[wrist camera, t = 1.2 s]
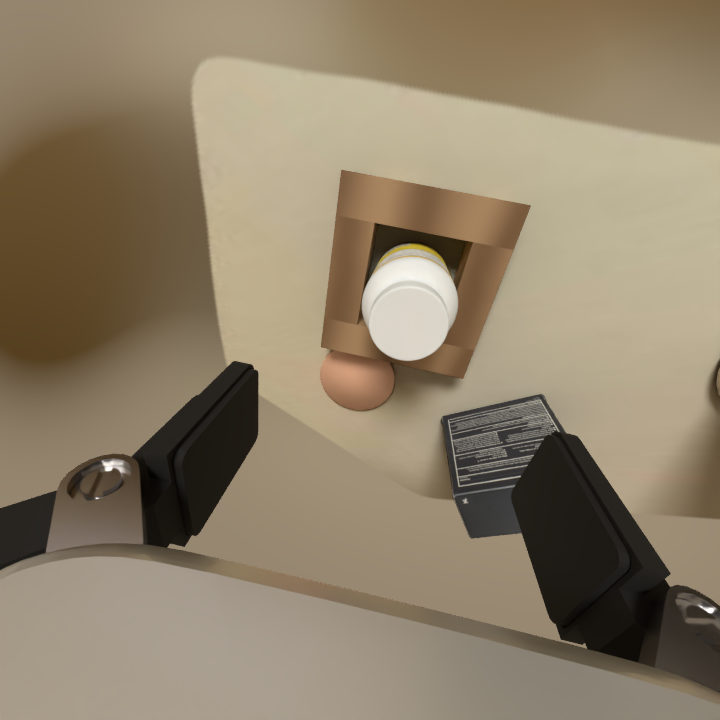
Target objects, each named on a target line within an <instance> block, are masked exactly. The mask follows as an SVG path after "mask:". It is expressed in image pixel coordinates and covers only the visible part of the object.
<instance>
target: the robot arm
mask: <svg viewBox="0 0 720 720" xmlns="http://www.w3.org/2000/svg"><path fill="white" fill-rule="evenodd" d="M716 385H717V391H718V395H719V397H720V368H719V371H718V375H717V383H716ZM257 436H258V371H257V370H254V368H253V365H251V364H246V363H242V362H237V361H234V362H232V363H231V364H230V365H229V366H228V367H227V368H226V369H225V370H224V371H223V372H222V373H221V374H220V375H219V376H218V377H217V378H216V379H215V380H214V381H213V382H212V383H211V384H210V385H209V386H208V387H207V388H206V389H204V390H203V392H202V393H201V394H199V395H196V396H195V397H193V398H192V399H191V400H190V401H189V402H188V403H187V404H186V405H185V406H184V407H183V408H182V409H181V410H180V411H178V412H177V413H176V414H175V415H174V416H173V417H172V418H171V419H170V420H169V421H168V422H167V423H166V424H165V425H164V426H163V427H162V428H161V429H160V430H159V431H158V432H157V433H156V434H155V435H154V436H152V438H150V440H148V441H147V442H146V443H145V444H144V445H143V446H142V447H141V448H140V449H139V450H138V451H137V452H136V453H135V454H134V455H133V456H132V457H131V456H128V455H124V454H109V455H102V456H99V457H96V458H93V459H90V460H88V461H86V462H84V463H82V464H80V465H78V466H77V467H75V468H74V469H73V470H71V471H70V472H69V473H68V474H67V475H66V476H65V477H64V478H63V480H62V481H61V482H60V485H59V487H58V489H57V491H54V492H50V493H47V494H44V495H41V496H38V497H35V498H31V499H28V500H25V501H22V502H19V503H16V504H13V505H9V506H7V507H3V508H0V720H720V606H719V605H718V604H717V603H715V602H714V601H713V600H711V599H710V598H708V597H706V596H705V595H703V594H701V593H700V592H698V591H696V590H693V589H691V588H689V587H687V586H680V585H675V586H672V587H670V586H669V585H668V583H667V582H666V580H665V578H666V577H667V576H669V575H670V572H669V571H668V569H667V568H666V566H665V564H664V563H663V562H662V560H661V559H660V557H659V556H658V554H657V553H656V552H655V550H654V548H653V547H652V545H651V544H650V542H649V541H648V539H647V538H646V536H645V535H644V534H643V532H642V530H641V529H640V528H639V526H638V525H637V523H636V522H635V520H634V519H633V517H632V516H631V514H630V513H629V511H628V510H627V508H626V507H625V505H624V504H623V502H622V501H621V499H620V498H619V496H618V495H617V494H616V492H615V491H614V489H613V488H612V486H611V485H610V483H609V482H608V480H607V479H606V477H605V476H604V474H603V473H602V471H601V470H600V468H599V467H598V465H597V464H596V462H595V461H594V460H593V458H592V457H591V455H590V454H589V452H588V451H587V449H586V448H585V446H584V445H583V443H582V442H581V440H580V439H579V438H578V437H577V436H575V435H571V434H567V433H562V432H558V431H556V432H553V433H552V434H551V435H546V436H545V438H544V439H543V441H542V443H541V444H540V446H539V447H538V449H537V451H536V452H535V454H534V456H533V457H532V459H531V460H530V462H529V464H528V465H527V467H526V469H525V470H524V472H523V473H522V475H521V477H520V478H519V480H518V482H517V483H516V485H515V486H514V488H513V490H512V493H511V501H512V504H513V507H514V510H515V514H516V517H517V520H518V523H519V526H520V529H521V532H522V535H523V538H524V541H525V544H526V547H527V551H528V554H529V557H530V559H531V563H532V566H533V569H534V572H535V575H536V578H537V581H538V584H539V588H540V591H541V594H542V597H543V600H544V603H545V606H546V609H547V612H548V615H549V618H550V619H551V621H552V622H553V623H555V624H556V626H557V629H558V632H559V635H560V638H561V640H565V641H569V642H573V643H578V644H582V645H583V644H584V643H585V644H586V646H587V649H585V648H582V647H578V646H574V645H570V644H566V643H563V642H559V641H555V640H550V639H547V638H543V637H538V636H534V635H531V634H527V633H523V632H519V631H515V630H511V629H507V628H503V627H499V626H495V625H491V624H487V623H483V622H479V621H475V620H471V619H467V618H463V617H459V616H455V615H451V614H447V613H443V612H439V611H435V610H431V609H426V608H423V607H419V606H415V605H410V604H407V603H402V602H399V601H394V600H390V599H386V598H382V597H378V596H374V595H370V594H366V593H361V592H358V591H354V590H350V589H346V588H341V587H337V586H333V585H329V584H325V583H321V582H317V581H312V580H308V579H304V578H300V577H296V576H292V575H287V574H283V573H279V572H275V571H271V570H267V569H262V568H258V567H254V566H250V565H246V564H241V563H237V562H232V561H227V560H223V559H219V558H214V557H209V556H205V555H200V554H196V553H191V552H186V551H182V550H176V549H170V548H167V547H168V546H169V544H170V543H171V544H175V545H179V546H183V547H185V545H186V544H187V542H188V541H189V539H190V537H191V536H192V535H194V536H196V535H198V534H199V533H200V531H201V530H202V528H203V527H204V525H205V523H206V521H207V520H208V518H209V517H210V515H211V514H212V512H213V510H214V509H215V507H216V505H217V504H218V502H219V500H220V499H221V497H222V496H223V494H224V492H225V491H226V489H227V487H228V486H229V484H230V482H231V481H232V479H233V478H234V476H235V474H236V473H237V471H238V469H239V468H240V466H241V464H242V463H243V461H244V460H245V458H246V456H247V455H248V453H249V451H250V450H251V448H252V447H253V445H254V443H255V441H256V439H257Z"/></svg>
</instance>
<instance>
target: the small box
mask: <svg viewBox="0 0 720 720" xmlns="http://www.w3.org/2000/svg"><path fill="white" fill-rule="evenodd" d="M441 422H442V424H443V428H444V435H445V443H446V451H447V458H448V464H449V471H450V478H451V485H452V497H453V499H454V501H455V503H456V505H457V508H458V511H459V513H460V515H461V518H462V520H463V523H464V525H465V527H466V530H467V532H468V535H469V537H470V538H480V537H489V536H499V535H507V534H518V533H522V532H521V529H520V526H519V523H518V520H517V517H516V514H515V510H514V507H513V504H512V501H511V493H512V490H513V488H514V486H515V485H516V483H517V482H518V480H519V478H520V477H521V475H522V473H523V472H524V470H525V469H526V467H527V465H528V464H529V462H530V460H531V459H532V457H533V456H534V454H535V452H536V451H537V449H538V447H539V446H540V444H541V443H542V441H543V439H544V438H545V436H546V435H551V434H552V433H553V432H556V431H558V432H562V433H566V432H565V430H564V429H563V427H562V426H561V424H560V423H559V421H558V419H557V418H556V416H555V414H554V413H553V411H552V410H551V408H550V407H549V405H548V403H547V402H546V399H545V397H544V395H542V394H540V395H535V396H531V397H526V398H522V399H517V400H513V401H508V402H504V403H500V404H495V405H491V406H486V407H482V408H477V409H473V410H469V411H464V412H460V413H455V414H451V415H447V416H443V417H442V419H441Z"/></svg>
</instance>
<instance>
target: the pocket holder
mask: <svg viewBox="0 0 720 720" xmlns="http://www.w3.org/2000/svg"><path fill="white" fill-rule="evenodd" d="M530 207H531V206H530V205H525V204H520V203H515V202H509V201H504V200H499V199H493V198H488V197H483V196H477V195H472V194H467V193H462V192H456V191H451V190H446V189H440V188H435V187H430V186H424V185H419V184H414V183H409V182H403V181H398V180H393V179H387V178H382V177H377V176H371V175H366V174H361V173H356V172H350V171H345V170H341V178H340V187H339V195H338V204H337V213H336V221H335V230H334V238H333V247H332V256H331V264H330V273H329V282H328V290H327V299H326V308H325V316H324V325H323V334H322V342H321V347H322V348H327V349H331V350H336V351H340V352H345V353H350V354H354V355H359V356H363V357H368V358H372V359H377V360H381V361H386V362H390V363H395V364H399V365H404V366H408V367H413V368H417V369H422V370H426V371H431V372H435V373H440V374H444V375H449V376H453V377H458V378H464V375H465V373H466V370H467V367H468V365H469V362H470V360H471V357H472V355H473V352H474V350H475V347H476V344H477V342H478V339H479V337H480V334H481V332H482V329H483V327H484V324H485V321H486V319H487V316H488V314H489V311H490V309H491V306H492V304H493V301H494V299H495V296H496V293H497V291H498V288H499V286H500V283H501V281H502V278H503V276H504V273H505V270H506V268H507V265H508V263H509V260H510V258H511V255H512V253H513V250H514V247H515V245H516V242H517V240H518V237H519V235H520V232H521V230H522V227H523V224H524V222H525V219H526V217H527V214H528V212H529V209H530ZM378 224H383V225H389V226H394V227H399V228H404V229H409V230H414V231H419V232H424V233H429V234H434V235H439V236H444V237H449V238H455V239H460V240H465V241H466V243H465V246H464V249H463V252H462V255H461V259H460V262H459V265H458V268H457V271H456V274H455V278H454V281H453V282H454V285H455V287H456V291H457V295H458V311H457V315H456V318H455V321H454V323H453V325H452V327H451V328H450V330H449V331H448V333H447V336H446V338H445V340H444V342H443V343H442V345H441V346H440V347H439V348H438V349H437V350H436V351H435V352H434V353H432V354H431V355H429V356H427V357H425V358H422V359H419V360H413V361H404V360H398V359H394V358H392V357H390V356H388V355H386V354H385V353H383V352H382V351H381V350H380V349H379V348H378V347H377V346H376V345H375V343H374V341H373V340H372V338H371V335H370V332H369V329H368V327H367V325H366V323H365V321H364V318H363V314H362V297H363V293H364V290H365V287H366V285H367V282H368V277H369V271H370V265H371V260H372V254H373V248H374V243H375V237H376V232H377V226H378Z"/></svg>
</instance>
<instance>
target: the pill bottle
mask: <svg viewBox="0 0 720 720" xmlns="http://www.w3.org/2000/svg"><path fill="white" fill-rule="evenodd" d="M457 311H458V295H457V291H456V287H455V285H454V282H453V280H452V278H451V275H450V273H449V271H448V269H447V266H446V264H445V262H444V260H443V259H442V257H441V256H440V255H439V253H438V252H437V251H435V250H434V249H433V248H431V247H430V246H428V245H425V244H422V243H418V242H406V243H402V244H399V245H397V246H395V247H393V248H391V249H390V250H388V251H387V252H386V253H385V254H384V255H383V256H382V257H381V259H380V261H379V262H378V264H377V266H376V268H375V270H374V272H373V274H372V276H371V278H370V279H369V281H368V283H367V285H366V287H365V290H364V293H363V297H362V314H363V318H364V321H365V323H366V325H367V327H368V329H369V332H370V335H371V338H372V340H373V341H374V343H375V345H376V346H377V347H378V348H379V349H380V350H381V351H382V352H383V353H385V354H386V355H388V356H390V357H392V358H394V359H398V360H404V361H413V360H419V359H422V358H425V357H427V356H429V355H431V354H432V353H434V352H435V351H436V350H437V349H438V348H439V347H440V346H441V345H442V343H443V342H444V340H445V338H446V336H447V333H448V331H449V330H450V328H451V327H452V325H453V323H454V321H455V318H456V315H457Z"/></svg>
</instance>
